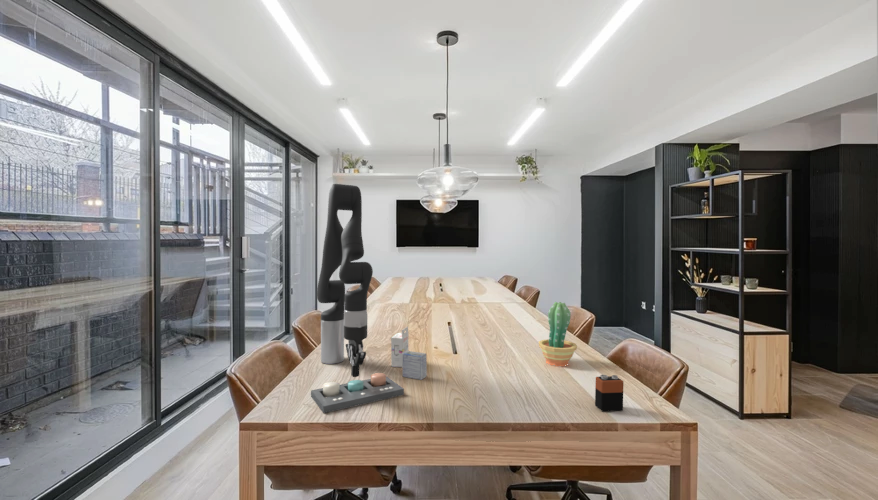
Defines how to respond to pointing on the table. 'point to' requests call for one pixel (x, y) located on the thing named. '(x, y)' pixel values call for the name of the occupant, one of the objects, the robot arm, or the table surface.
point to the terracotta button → (378, 379)
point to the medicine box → (414, 365)
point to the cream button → (331, 389)
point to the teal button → (355, 385)
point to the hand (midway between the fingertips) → (355, 376)
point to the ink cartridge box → (399, 348)
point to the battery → (609, 393)
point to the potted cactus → (558, 336)
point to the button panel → (356, 395)
